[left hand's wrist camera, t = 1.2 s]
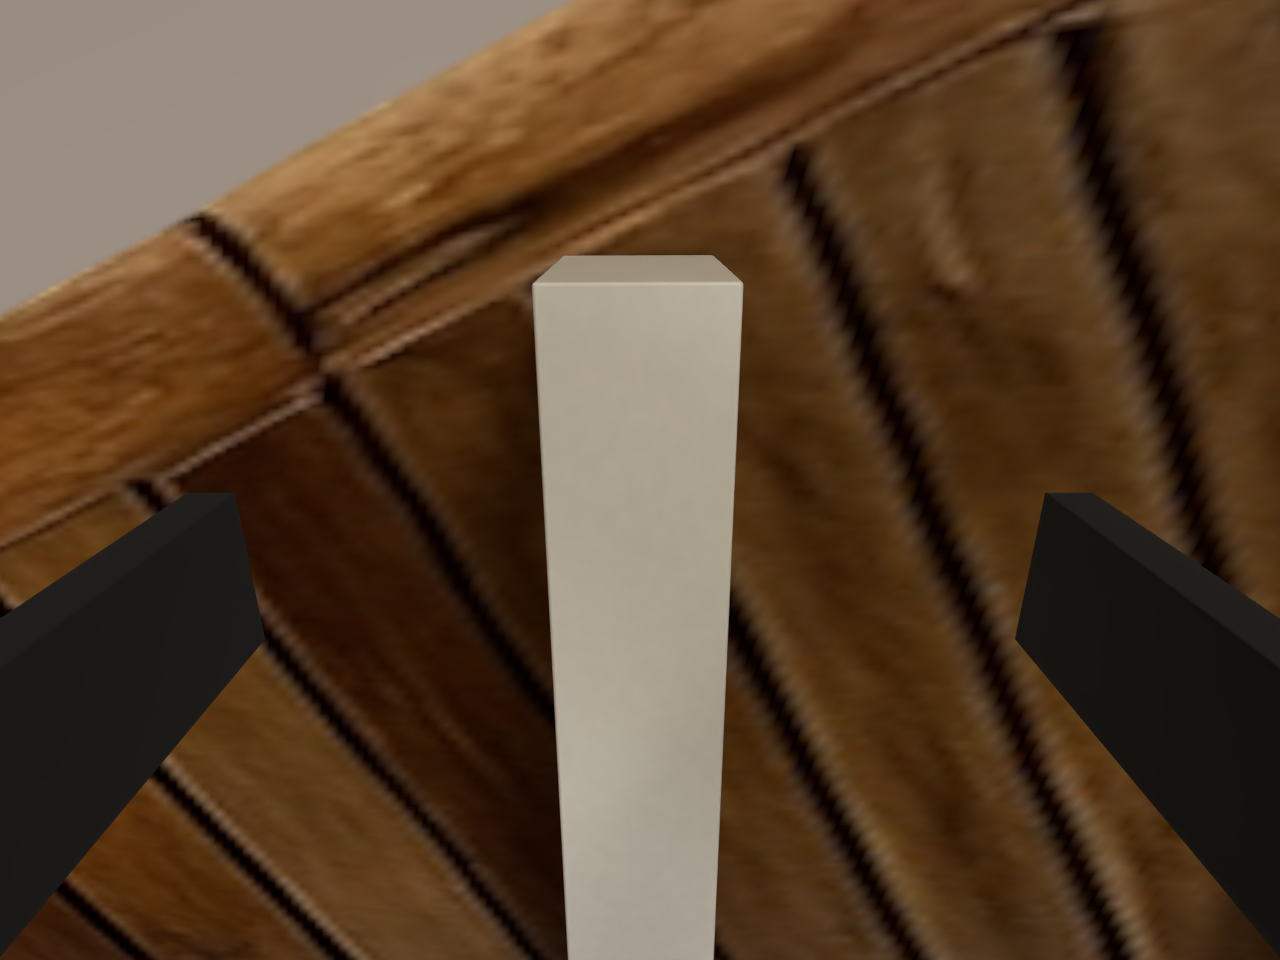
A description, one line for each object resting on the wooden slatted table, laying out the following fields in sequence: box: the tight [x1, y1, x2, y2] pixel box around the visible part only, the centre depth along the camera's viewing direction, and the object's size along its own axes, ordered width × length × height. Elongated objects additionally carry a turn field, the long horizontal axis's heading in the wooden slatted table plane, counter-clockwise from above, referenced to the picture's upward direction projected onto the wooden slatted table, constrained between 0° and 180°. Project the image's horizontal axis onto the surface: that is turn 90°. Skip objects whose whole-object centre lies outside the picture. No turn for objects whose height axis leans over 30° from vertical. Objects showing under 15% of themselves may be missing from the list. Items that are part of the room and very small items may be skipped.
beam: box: [532, 255, 743, 960], centre depth 27 cm, size 34×5×8 cm, turn 0°
